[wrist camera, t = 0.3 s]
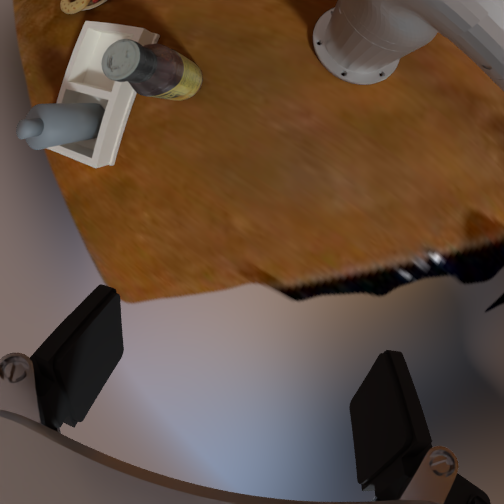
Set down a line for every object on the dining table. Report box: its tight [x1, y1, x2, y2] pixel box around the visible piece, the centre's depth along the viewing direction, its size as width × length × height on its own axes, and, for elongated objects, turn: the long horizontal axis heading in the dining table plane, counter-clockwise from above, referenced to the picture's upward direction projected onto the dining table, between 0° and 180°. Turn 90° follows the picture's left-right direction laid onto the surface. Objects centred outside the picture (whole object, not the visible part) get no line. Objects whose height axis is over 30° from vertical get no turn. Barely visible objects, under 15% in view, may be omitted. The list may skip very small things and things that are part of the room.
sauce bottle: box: [101, 39, 202, 100], centre depth 29 cm, size 6×6×20 cm
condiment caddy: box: [16, 21, 160, 168], centre depth 32 cm, size 22×12×17 cm, turn 157°
